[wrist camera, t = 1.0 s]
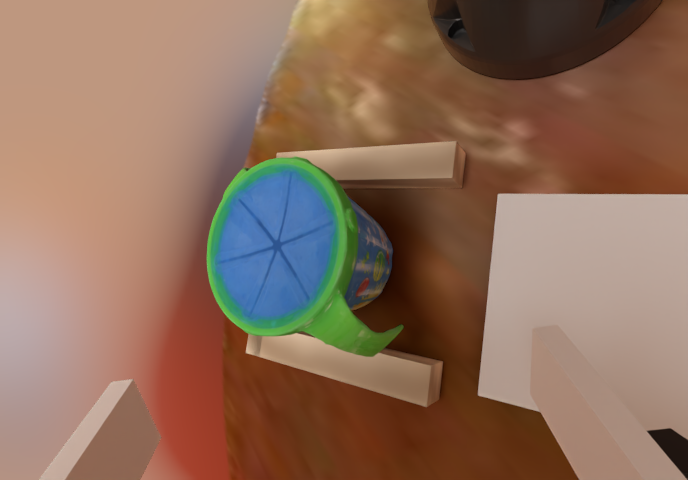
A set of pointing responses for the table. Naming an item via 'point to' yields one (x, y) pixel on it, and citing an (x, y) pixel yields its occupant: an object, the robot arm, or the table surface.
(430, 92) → the table surface
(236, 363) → the table surface
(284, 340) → the wooden frame
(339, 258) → the snack cup
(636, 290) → the grey mat
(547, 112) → the table surface
